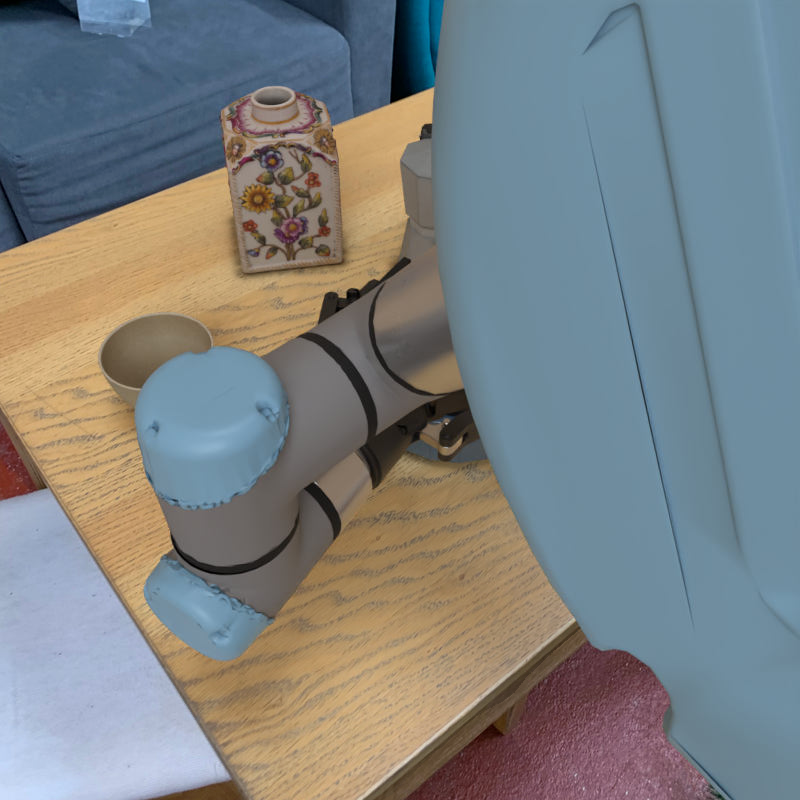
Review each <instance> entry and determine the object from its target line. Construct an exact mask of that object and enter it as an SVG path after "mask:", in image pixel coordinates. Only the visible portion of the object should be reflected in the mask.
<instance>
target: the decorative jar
mask: <svg viewBox="0 0 800 800" xmlns="http://www.w3.org/2000/svg"><path fill="white" fill-rule="evenodd" d="M218 119H219V123H220V128H219V129H220V132H221V136H220V137H221V141H222V148H223V151H224V152H223V153H224V161H225V164H224V165H225V168H226V170H227V176H228V177H227V180H228V182H227V184H228V187H229V188H228V189H229V194H230V202H231V204H232V215H233V220H234V228H235V233H236V240H237V246H238V254H239V261H240V267H241V271H242V272H243V273H244V274H254V273H261V272H271V271H278V270H279V271H280V270H288V269H297V268H306V267H316V266H326V265H333V264H340V263H342V261H343V256H344V255H343V249H344V248H343V218H342V217H343V216H342V200H341V178H340V162H339V161H340V157H339V154H338V148H337V147H338V146H337V140H336V139H335V137H334V134H333V133H334V128H333V127H332V122H331V115H330V111H329V109H328V108H327V106H326V104H325V102H323V101H320V100H318V99H316V98H313V97H312V96H310V95H306V94H304V93H302V92H298V91H295V90H293V89H291V88H290V87H287V86H282V85H272V86H270V85H269V86H264V87H262V88H258V89H256V90H255V91H254V92H251V93H248V94H246V95H244V96H241V97H240V98H238V99H236V100H234V101H233V102H231V103H230V104H228V105H227V106H225V107H224V108H222V109H221V110H220V114H219V117H218Z"/></svg>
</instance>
